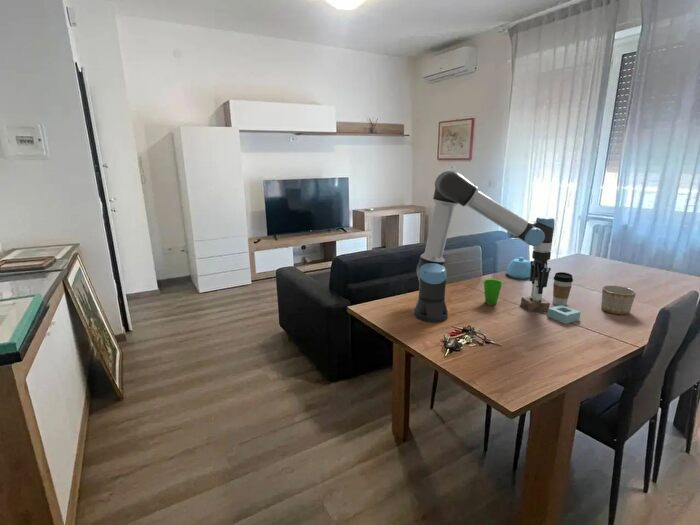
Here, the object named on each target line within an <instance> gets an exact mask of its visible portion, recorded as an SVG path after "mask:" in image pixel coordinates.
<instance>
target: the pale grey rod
mask: <svg viewBox="0 0 700 525" xmlns="http://www.w3.org/2000/svg"><path fill="white" fill-rule="evenodd" d="M536 286H538V277H535V282H534V290H533V298H532V301H533V302H539V300H535V296H536Z"/></svg>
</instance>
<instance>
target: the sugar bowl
mask: <svg viewBox="0 0 700 525" xmlns="http://www.w3.org/2000/svg"><path fill="white" fill-rule="evenodd" d="M530 269H531V264H530V260H528V259H525V257H523V256H518V258H514V259H513V260H511V262H509V264H508V266H507V268H506V273H507V275H508V276H509V277H511V278H514V279H522V280H523V279H526V280H527V279H530Z"/></svg>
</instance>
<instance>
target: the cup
mask: <svg viewBox="0 0 700 525" xmlns="http://www.w3.org/2000/svg"><path fill="white" fill-rule="evenodd" d="M482 282H483V284H484V286H483V287H484V300H485V304H487V305H493V306H494V305H496V304H497V302H498V300H499V295H500V292H501V288H502V285H503V284H504V283H503V281H501V280H499V279H493V278H487V279H484V280H482Z"/></svg>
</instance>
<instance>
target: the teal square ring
mask: <svg viewBox="0 0 700 525" xmlns="http://www.w3.org/2000/svg"><path fill="white" fill-rule="evenodd" d="M546 314H547V315H546V316H547V317H548V318H550V319H553V320H554V321H557V322H560V323H561V324H564V325H566V323H567V324H570V323H574V322H578V321H580V320H581V318H580V317H581V311H579V310H577V309H574V308H572V307H568V306H566V305H565V306H564V305H555V306H551V307H549V308H548V311H547V313H546Z"/></svg>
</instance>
